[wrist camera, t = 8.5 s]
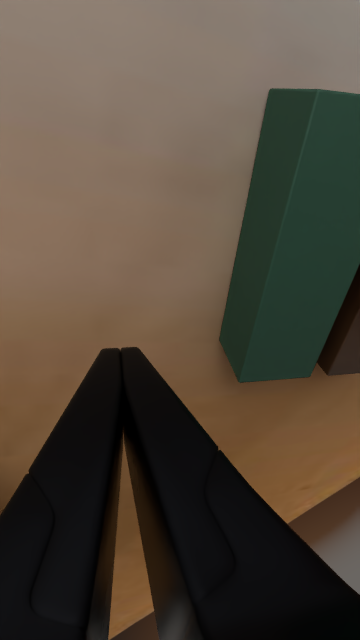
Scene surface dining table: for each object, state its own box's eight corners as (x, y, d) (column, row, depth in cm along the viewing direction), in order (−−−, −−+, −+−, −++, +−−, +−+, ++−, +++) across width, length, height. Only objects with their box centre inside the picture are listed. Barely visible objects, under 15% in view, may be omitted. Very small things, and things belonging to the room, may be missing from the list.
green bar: (281, 336, 20) (310, 377, 17) (218, 339, 19) (238, 383, 16) (361, 99, 13) (431, 102, 10) (269, 88, 12) (318, 89, 9)
